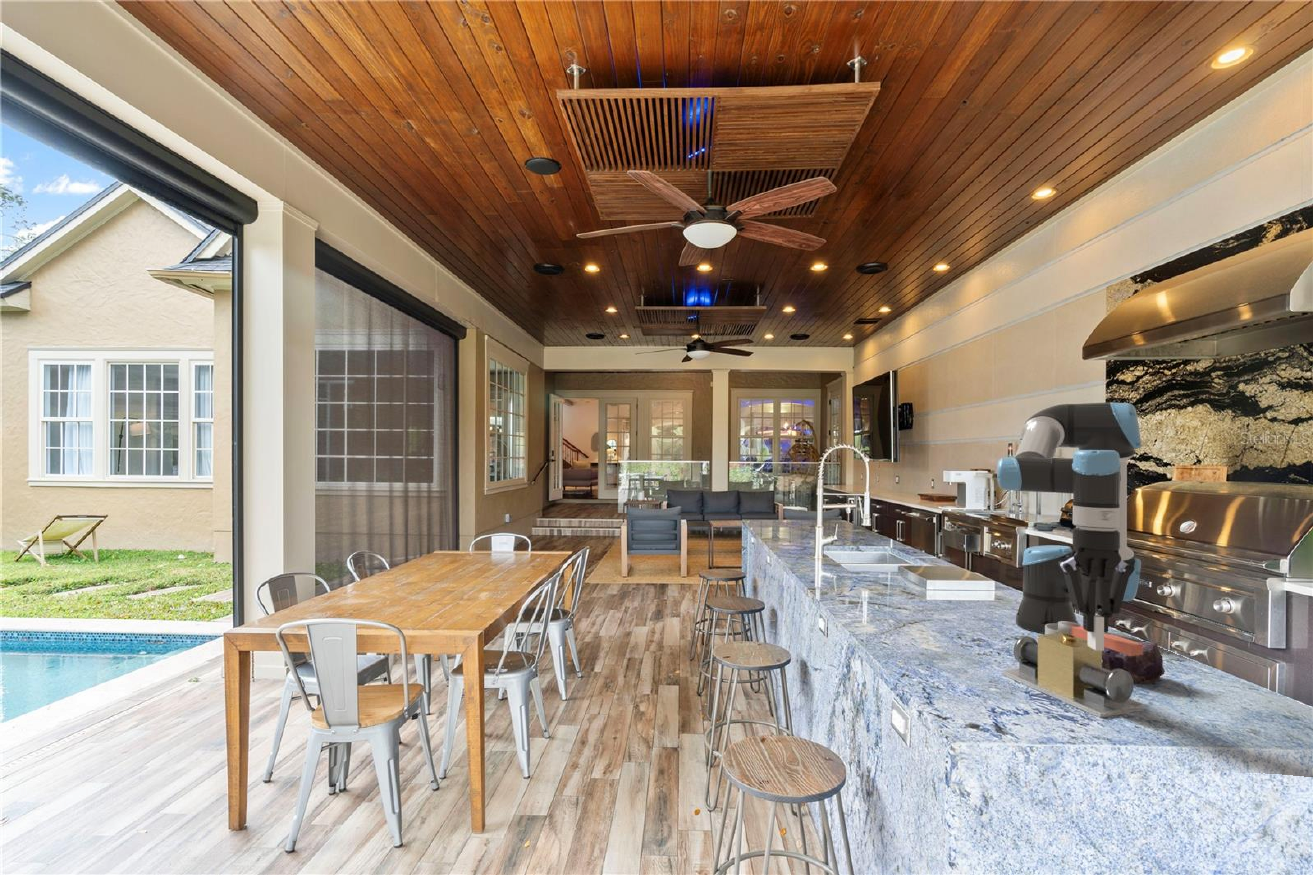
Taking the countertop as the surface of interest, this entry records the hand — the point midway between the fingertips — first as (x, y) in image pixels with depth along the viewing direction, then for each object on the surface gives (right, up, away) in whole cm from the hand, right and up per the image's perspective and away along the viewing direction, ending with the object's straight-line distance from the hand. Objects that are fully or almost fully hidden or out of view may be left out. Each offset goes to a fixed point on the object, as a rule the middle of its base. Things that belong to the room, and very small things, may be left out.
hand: (1095, 648), depth 118 cm
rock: (+21, -13, +16) cm, 30 cm away
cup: (+12, -13, +25) cm, 30 cm away
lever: (+3, 0, +4) cm, 5 cm away
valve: (+2, -13, +10) cm, 16 cm away
